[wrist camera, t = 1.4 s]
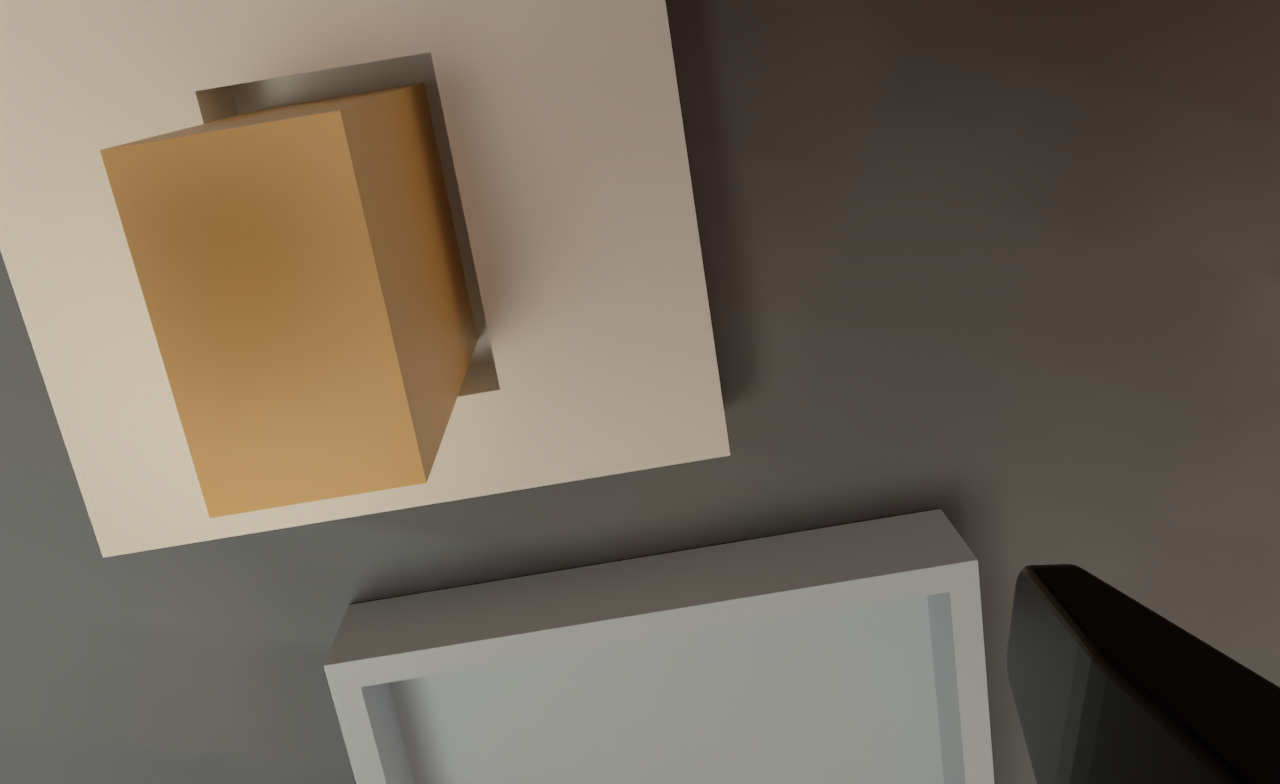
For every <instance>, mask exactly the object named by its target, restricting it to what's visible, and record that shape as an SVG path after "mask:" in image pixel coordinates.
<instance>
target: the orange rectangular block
mask: <svg viewBox="0 0 1280 784" xmlns="http://www.w3.org/2000/svg"><path fill="white" fill-rule="evenodd" d="M100 152H101V156H102V159H103V162H104V166H105V169H106V172H107V176H108V179H109V183H110V186H111V189H112V193H113V196H114V199H115V203H116V206H117V209H118V213H119V216H120V219H121V223H122V226H123V229H124V233H125V236H126V239H127V243H128V246H129V249H130V253H131V256H132V260H133V263H134V266H135V270H136V273H137V276H138V280H139V283H140V286H141V290H142V293H143V296H144V300H145V303H146V306H147V310H148V313H149V316H150V320H151V323H152V326H153V330H154V333H155V337H156V340H157V343H158V347H159V350H160V353H161V357H162V360H163V363H164V367H165V370H166V373H167V377H168V380H169V383H170V387H171V390H172V393H173V397H174V400H175V403H176V407H177V410H178V414H179V417H180V420H181V424H182V427H183V430H184V434H185V437H186V440H187V444H188V447H189V450H190V454H191V457H192V460H193V464H194V467H195V470H196V474H197V477H198V480H199V484H200V487H201V491H202V494H203V497H204V501H205V504H206V507H207V511H208V514H209V517H210V518H214V517H220V516H226V515H232V514H239V513H245V512H251V511H257V510H263V509H269V508H275V507H282V506H288V505H294V504H300V503H306V502H312V501H318V500H324V499H331V498H337V497H343V496H349V495H355V494H361V493H367V492H374V491H380V490H386V489H392V488H398V487H404V486H410V485H416V484H423V483H427V480H428V478H429V475H430V472H431V469H432V466H433V464H434V461H435V458H436V455H437V452H438V450H439V447H440V444H441V441H442V439H443V436H444V433H445V430H446V427H447V425H448V422H449V419H450V416H451V413H452V411H453V408H454V405H455V402H456V399H457V397H458V394H459V391H460V388H461V386H462V383H463V380H464V377H465V374H466V372H467V369H468V366H469V363H470V360H471V358H472V355H473V352H474V349H475V347H476V344H477V341H478V338H477V333H476V328H475V324H474V319H473V314H472V309H471V304H470V300H469V295H468V290H467V285H466V281H465V276H464V271H463V266H462V261H461V257H460V252H459V247H458V242H457V238H456V233H455V228H454V223H453V218H452V214H451V209H450V204H449V199H448V194H447V190H446V185H445V180H444V175H443V171H442V166H441V161H440V156H439V151H438V147H437V142H436V137H435V132H434V128H433V123H432V118H431V113H430V108H429V104H428V99H427V94H426V89H425V84H424V82H422V83H416V84H410V85H404V86H398V87H392V88H386V89H380V90H374V91H368V92H362V93H356V94H350V95H344V96H338V97H332V98H326V99H320V100H314V101H308V102H302V103H296V104H290V105H284V106H277V107H271V108H265V109H261V110H257V111H253V112H249V113H245V114H241V115H237V116H233V117H229V118H225V119H221V120H217V121H213V122H209V123H205V124H202V125H198V126H194V127H190V128H186V129H182V130H178V131H174V132H170V133H166V134H162V135H158V136H154V137H150V138H146V139H142V140H138V141H134V142H130V143H126V144H122V145H118V146H114V147H110V148H106V149H102V150H100Z"/></svg>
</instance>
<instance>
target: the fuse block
mask: <svg viewBox="0 0 1280 784" xmlns="http://www.w3.org/2000/svg"><path fill="white" fill-rule="evenodd" d="M422 82H424V84H425V89H426V94H427V99H428V104H429V108H430V113H431V118H432V123H433V128H434V132H435V137H436V142H437V147H438V151H439V156H440V161H441V166H442V171H443V175H444V180H445V185H446V190H447V194H448V199H449V204H450V209H451V214H452V218H453V223H454V228H455V233H456V238H457V242H458V247H459V252H460V257H461V261H462V266H463V271H464V276H465V281H466V285H467V290H468V295H469V300H470V304H471V309H472V314H473V319H474V324H475V328H476V333H477V338H478V341H477V344H476V347H475V349H474V352H473V355H472V358H471V360H470V363H469V366H468V369H467V372H466V374H465V377H464V380H463V383H462V386H461V388H460V391H459V394H458V397H457V399H456V402H455V405H454V408H453V411H452V413H451V416H450V419H449V422H448V425H447V427H446V430H445V433H444V436H443V439H442V441H441V444H440V447H439V450H438V452H437V455H436V458H435V461H434V464H433V466H432V469H431V472H430V475H429V478H428V480H427V483H423V484H416V485H410V486H404V487H398V488H392V489H386V490H380V491H374V492H367V493H361V494H355V495H349V496H343V497H337V498H331V499H324V500H318V501H312V502H306V503H300V504H294V505H288V506H282V507H275V508H269V509H263V510H257V511H251V512H245V513H239V514H232V515H226V516H220V517H214V518H210V517H209V514H208V511H207V507H206V504H205V501H204V497H203V494H202V491H201V487H200V484H199V480H198V477H197V474H196V470H195V467H194V464H193V460H192V457H191V454H190V450H189V447H188V444H187V440H186V437H185V434H184V430H183V427H182V424H181V420H180V417H179V414H178V410H177V407H176V403H175V400H174V397H173V393H172V390H171V387H170V383H169V380H168V377H167V373H166V370H165V367H164V363H163V360H162V357H161V353H160V350H159V347H158V343H157V340H156V337H155V333H154V330H153V326H152V323H151V320H150V316H149V313H148V310H147V306H146V303H145V300H144V296H143V293H142V290H141V286H140V283H139V280H138V276H137V273H136V270H135V266H134V263H133V260H132V256H131V253H130V249H129V246H128V243H127V239H126V236H125V233H124V229H123V226H122V223H121V219H120V216H119V213H118V209H117V206H116V203H115V199H114V196H113V193H112V189H111V186H110V183H109V179H108V176H107V172H106V169H105V166H104V162H103V159H102V156H101V152H100V150H102V149H106V148H110V147H114V146H118V145H122V144H126V143H130V142H134V141H138V140H142V139H146V138H150V137H154V136H158V135H162V134H166V133H170V132H174V131H178V130H182V129H186V128H190V127H194V126H198V125H202V124H205V123H209V122H213V121H217V120H221V119H225V118H229V117H233V116H237V115H241V114H245V113H249V112H253V111H257V110H261V109H265V108H271V107H277V106H284V105H290V104H296V103H302V102H308V101H314V100H320V99H326V98H332V97H338V96H344V95H350V94H356V93H362V92H368V91H374V90H380V89H386V88H392V87H398V86H404V85H410V84H416V83H422ZM0 251H1V254H2V257H3V260H4V263H5V266H6V269H7V272H8V275H9V278H10V281H11V284H12V287H13V290H14V293H15V296H16V299H17V302H18V305H19V308H20V311H21V314H22V317H23V320H24V323H25V326H26V328H27V331H28V334H29V337H30V340H31V343H32V346H33V349H34V352H35V355H36V358H37V361H38V364H39V367H40V370H41V373H42V376H43V379H44V382H45V385H46V388H47V391H48V394H49V397H50V400H51V403H52V406H53V409H54V412H55V415H56V418H57V421H58V424H59V427H60V430H61V433H62V436H63V439H64V442H65V445H66V448H67V451H68V454H69V457H70V460H71V463H72V466H73V469H74V472H75V475H76V478H77V481H78V484H79V487H80V490H81V493H82V496H83V499H84V502H85V505H86V508H87V511H88V514H89V517H90V520H91V523H92V526H93V529H94V532H95V535H96V538H97V541H98V544H99V547H100V550H101V553H102V556H103V558H104V557H110V556H116V555H123V554H129V553H135V552H141V551H147V550H153V549H159V548H166V547H172V546H178V545H184V544H190V543H196V542H202V541H209V540H215V539H221V538H227V537H233V536H239V535H245V534H252V533H258V532H264V531H270V530H276V529H282V528H288V527H295V526H301V525H307V524H313V523H319V522H325V521H331V520H337V519H344V518H350V517H356V516H362V515H368V514H374V513H380V512H387V511H393V510H399V509H405V508H411V507H417V506H423V505H430V504H436V503H442V502H448V501H454V500H460V499H466V498H473V497H479V496H485V495H491V494H497V493H503V492H509V491H516V490H522V489H528V488H534V487H540V486H546V485H552V484H559V483H565V482H571V481H577V480H583V479H589V478H595V477H602V476H608V475H614V474H620V473H626V472H632V471H638V470H644V469H651V468H657V467H663V466H669V465H675V464H681V463H687V462H694V461H700V460H706V459H712V458H718V457H724V456H730V449H729V442H728V435H727V428H726V421H725V414H724V407H723V400H722V393H721V386H720V379H719V372H718V365H717V358H716V351H715V344H714V337H713V330H712V323H711V316H710V309H709V302H708V295H707V288H706V281H705V274H704V268H703V261H702V254H701V247H700V240H699V233H698V226H697V219H696V212H695V205H694V198H693V191H692V184H691V177H690V170H689V163H688V156H687V149H686V142H685V135H684V128H683V121H682V114H681V107H680V100H679V93H678V86H677V79H676V72H675V65H674V58H673V51H672V44H671V37H670V30H669V23H668V16H667V9H666V2H665V0H0Z"/></svg>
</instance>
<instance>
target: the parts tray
mask: <svg viewBox="0 0 1280 784" xmlns="http://www.w3.org/2000/svg"><path fill="white" fill-rule="evenodd" d="M324 669H325V673H326V676H327V680H328V683H329V687H330V691H331V694H332V698H333V701H334V705H335V709H336V712H337V716H338V719H339V723H340V727H341V730H342V734H343V737H344V741H345V745H346V748H347V752H348V756H349V759H350V763H351V766H352V770H353V774H354V777H355V781H356V784H994V771H993V758H992V744H991V731H990V717H989V704H988V690H987V677H986V663H985V650H984V636H983V623H982V609H981V596H980V582H979V569H978V559H977V558H976V557H975V555H974V554H973V553H972V551H971V550H970V548H969V547H968V546H967V544H966V543H965V542H964V540H963V539H962V537H961V536H960V535H959V533H958V532H957V531H956V529H955V528H954V526H953V525H952V524H951V522H950V521H949V520H948V518H947V517H946V515H945V514H944V513H943V511H942V510H941V509H937V510H931V511H925V512H919V513H912V514H906V515H900V516H894V517H888V518H882V519H875V520H869V521H863V522H857V523H851V524H845V525H838V526H832V527H826V528H820V529H814V530H808V531H801V532H795V533H789V534H783V535H777V536H771V537H764V538H758V539H752V540H746V541H740V542H734V543H727V544H721V545H715V546H709V547H703V548H697V549H690V550H684V551H678V552H672V553H666V554H660V555H653V556H647V557H641V558H635V559H629V560H623V561H616V562H610V563H604V564H598V565H592V566H586V567H579V568H573V569H567V570H561V571H555V572H549V573H542V574H536V575H530V576H524V577H518V578H512V579H505V580H499V581H493V582H487V583H481V584H475V585H468V586H462V587H456V588H450V589H444V590H438V591H431V592H425V593H419V594H413V595H407V596H401V597H394V598H388V599H382V600H376V601H370V602H364V603H357V604H351V605H349V606H348V609H347V611H346V613H345V616H344V618H343V621H342V623H341V625H340V628H339V630H338V633H337V635H336V637H335V640H334V642H333V645H332V647H331V649H330V652H329V654H328V657H327V659H326V661H325V664H324Z"/></svg>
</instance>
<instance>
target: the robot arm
mask: <svg viewBox="0 0 1280 784" xmlns="http://www.w3.org/2000/svg"><path fill="white" fill-rule="evenodd" d="M1007 672H1008V678H1009V683H1010V687H1011V690H1012V694H1013V698H1014V702H1015V705H1016V709H1017V713H1018V716H1019V720H1020V724H1021V728H1022V731H1023V735H1024V739H1025V742H1026V746H1027V750H1028V753H1029V757H1030V761H1031V765H1032V768H1033V772H1034V776H1035V779H1036V783H1037V784H1280V687H1278V686H1276V685H1275V684H1273V683H1271V682H1270V681H1268V680H1266V679H1265V678H1263V677H1261V676H1260V675H1258V674H1256V673H1255V672H1253V671H1251V670H1250V669H1248V668H1247V667H1245V666H1243V665H1242V664H1240V663H1238V662H1237V661H1235V660H1233V659H1232V658H1230V657H1228V656H1227V655H1225V654H1223V653H1222V652H1220V651H1218V650H1217V649H1215V648H1213V647H1212V646H1210V645H1208V644H1207V643H1205V642H1203V641H1202V640H1200V639H1198V638H1197V637H1195V636H1193V635H1192V634H1190V633H1188V632H1187V631H1185V630H1183V629H1182V628H1180V627H1178V626H1177V625H1175V624H1173V623H1172V622H1170V621H1169V620H1167V619H1165V618H1164V617H1162V616H1160V615H1159V614H1157V613H1155V612H1154V611H1152V610H1150V609H1149V608H1147V607H1145V606H1144V605H1142V604H1140V603H1139V602H1137V601H1135V600H1134V599H1132V598H1130V597H1129V596H1127V595H1125V594H1124V593H1122V592H1120V591H1119V590H1117V589H1115V588H1114V587H1112V586H1110V585H1109V584H1107V583H1105V582H1104V581H1102V580H1100V579H1099V578H1097V577H1095V576H1094V575H1092V574H1091V573H1089V572H1087V571H1086V570H1084V569H1082V568H1080V567H1078V566H1076V565H1071V564H1059V565H1030V566H1026V567H1025V568H1024V569H1023V570H1022V571H1021V572H1020V574H1019V576H1018V578H1017V581H1016V587H1015V594H1014V601H1013V609H1012V616H1011V623H1010V630H1009V638H1008V645H1007Z"/></svg>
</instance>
